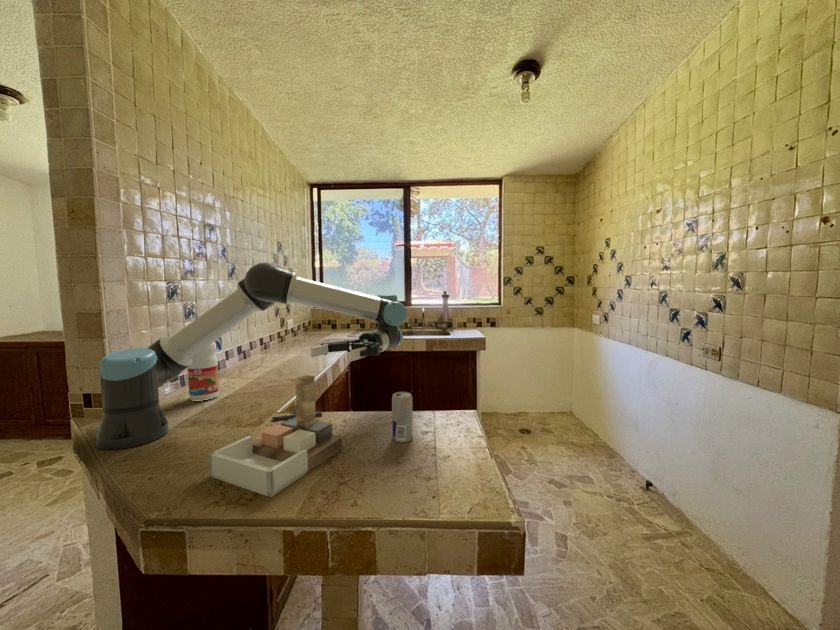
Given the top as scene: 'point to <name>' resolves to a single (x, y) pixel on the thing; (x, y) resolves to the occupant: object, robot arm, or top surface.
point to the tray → (255, 468)
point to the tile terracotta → (275, 436)
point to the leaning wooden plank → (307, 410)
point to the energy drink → (402, 417)
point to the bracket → (292, 416)
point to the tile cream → (299, 441)
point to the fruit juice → (204, 374)
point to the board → (313, 454)
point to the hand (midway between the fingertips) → (331, 354)
